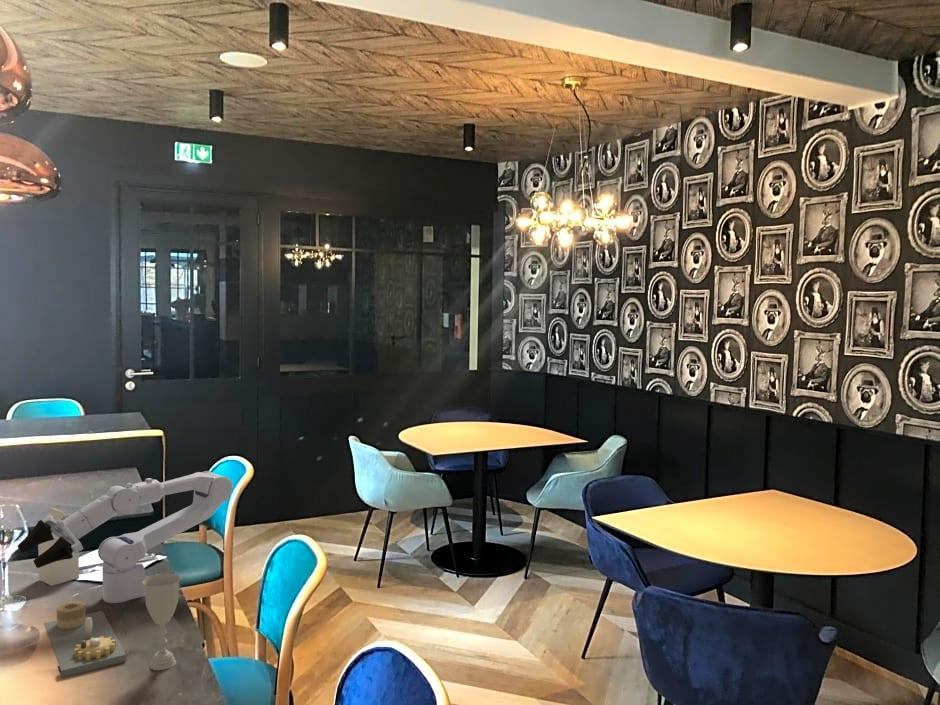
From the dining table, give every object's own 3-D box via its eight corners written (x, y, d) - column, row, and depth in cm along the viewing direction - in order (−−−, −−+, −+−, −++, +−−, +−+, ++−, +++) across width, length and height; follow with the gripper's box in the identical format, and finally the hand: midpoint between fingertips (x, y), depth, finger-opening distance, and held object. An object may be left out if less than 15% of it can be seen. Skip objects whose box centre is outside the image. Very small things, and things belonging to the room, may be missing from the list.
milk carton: (66, 572, 203) (64, 504, 202) (79, 578, 199) (77, 509, 198) (38, 580, 198) (36, 510, 196) (51, 586, 194) (49, 515, 192)
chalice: (145, 675, 150) (143, 588, 148) (142, 660, 156) (141, 577, 154) (183, 667, 153) (182, 582, 152) (180, 653, 159) (178, 571, 158)
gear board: (102, 616, 176) (101, 591, 176) (126, 661, 155) (125, 633, 155) (44, 629, 169) (43, 603, 169) (61, 677, 148) (60, 648, 148)
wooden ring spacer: (82, 616, 173) (82, 599, 173) (87, 624, 168) (86, 607, 168) (55, 621, 170) (55, 604, 169) (59, 631, 165) (58, 613, 165)
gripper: (63, 496, 178) (5, 530, 170) (94, 521, 171) (36, 559, 162) (73, 517, 182) (17, 551, 173) (104, 543, 175) (47, 580, 166)
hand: (27, 556), depth 168 cm, fingers open, 7 cm apart
